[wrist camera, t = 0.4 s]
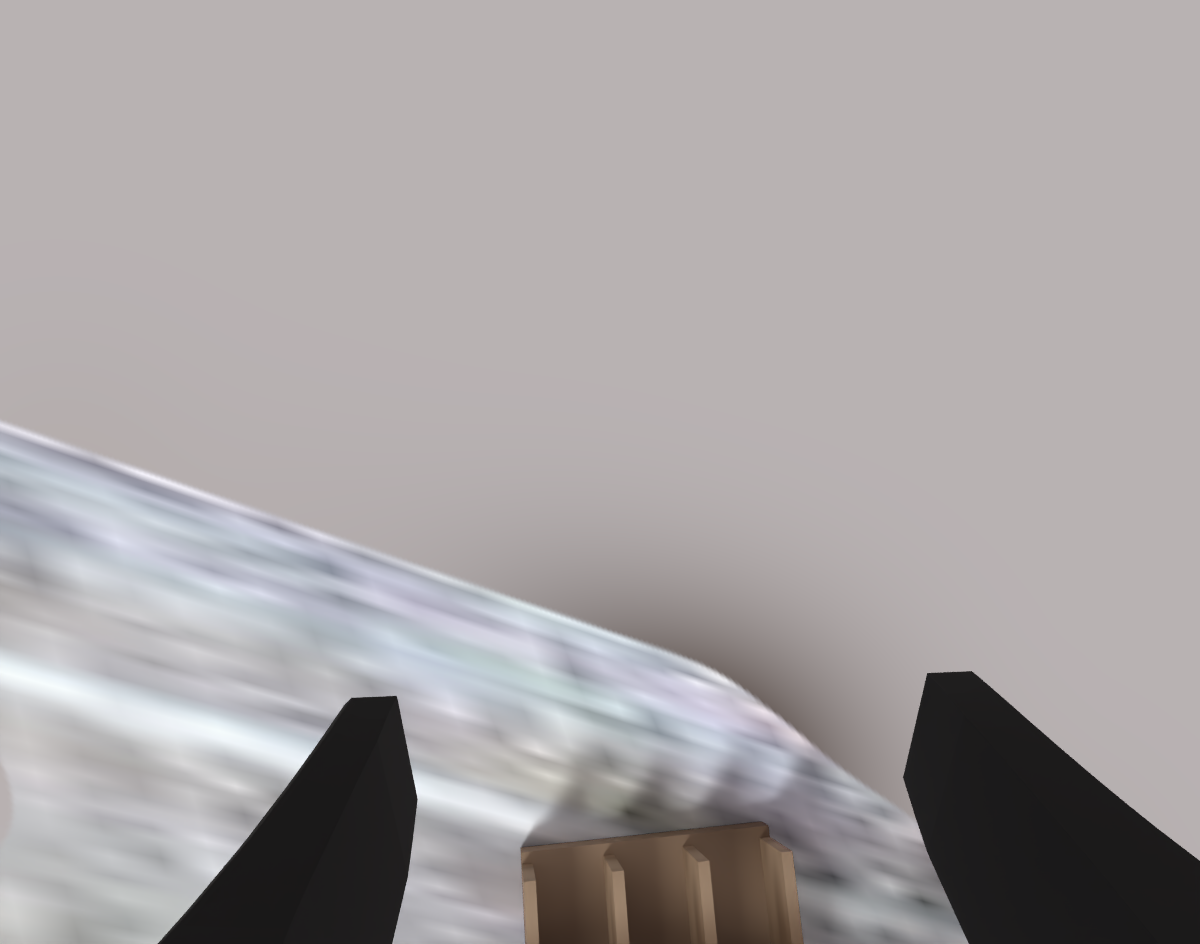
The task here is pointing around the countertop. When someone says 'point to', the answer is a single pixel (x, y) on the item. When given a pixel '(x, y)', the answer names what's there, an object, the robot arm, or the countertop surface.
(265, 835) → the robot arm
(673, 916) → the rack
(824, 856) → the countertop surface
